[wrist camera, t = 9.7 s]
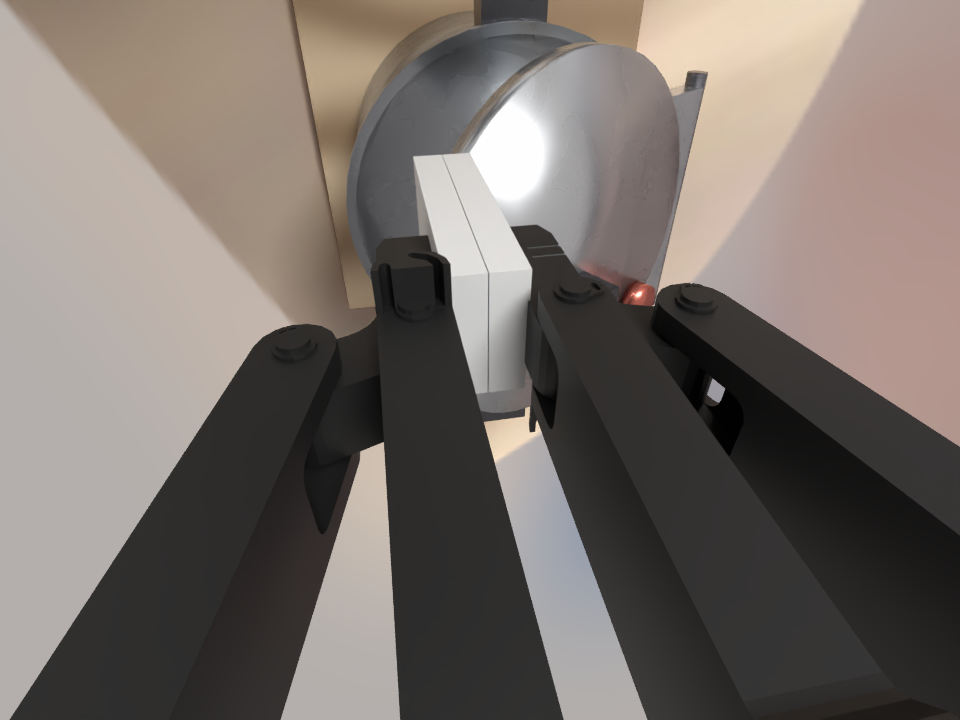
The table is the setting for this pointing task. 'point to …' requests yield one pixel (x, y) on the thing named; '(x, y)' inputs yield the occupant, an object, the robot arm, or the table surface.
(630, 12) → the trivet
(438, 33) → the pot
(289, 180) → the table surface
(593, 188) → the lid
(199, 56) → the table surface
